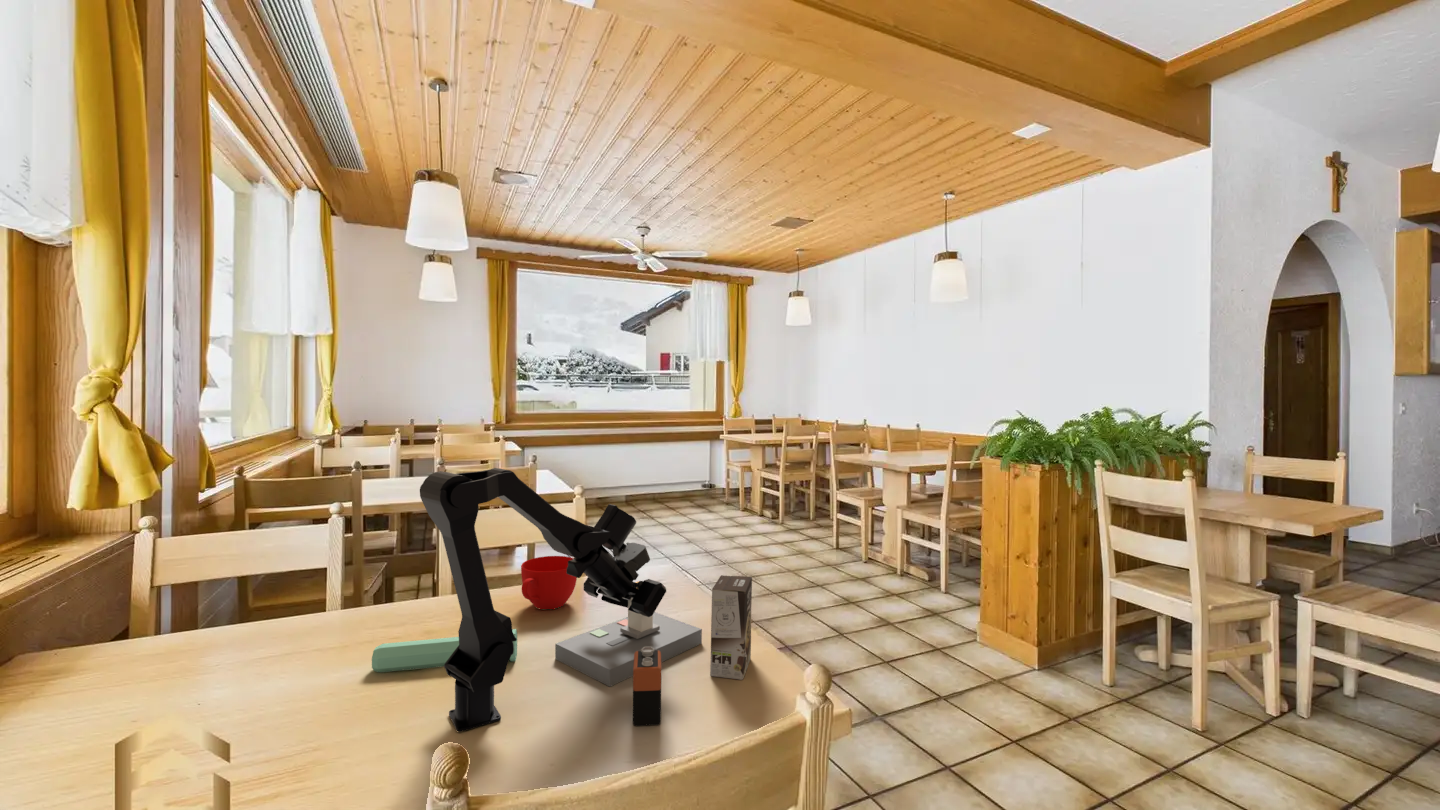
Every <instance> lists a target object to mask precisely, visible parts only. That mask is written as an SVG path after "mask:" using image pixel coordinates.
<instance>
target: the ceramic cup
mask: <svg viewBox="0 0 1440 810" xmlns="http://www.w3.org/2000/svg"><path fill="white" fill-rule="evenodd" d="M573 558H574V557H572V556H565V555H548V556H547V555H546V556H539V557H533V558H530V559H528V560H526V561H524V562H522V563H521V565H520V572H521V573H520V574H521V583H522V585H521V595H522V596H523V597H524V598H525V600H526V599H527V600H529V602H530V603H531V604H532V605H533V606H534V607H535V608H536V607H537V608H540V609H553V610H555V609H554V608H558V607H560V608H562V607H563V606H564V605H565V603H567V601H569V599H570V598H571V596H572V595H573V593H574V592H575V591H574V590H575V588H576V585H577V580H578V578H577V577H574V576H571V575H569V574H567V573H566V572H567V567H568V561H569V560H572V559H573ZM561 606H562V607H561ZM537 608H536V609H537ZM540 609H539V610H540ZM558 609H559V608H558Z"/></svg>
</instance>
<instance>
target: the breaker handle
mask: <svg viewBox="0 0 1440 810" xmlns="http://www.w3.org/2000/svg"><path fill="white" fill-rule="evenodd" d="M639 581H640V580H638V581H634V582H635V583H638V582H639ZM637 589H638V588H637ZM629 595H630V594H629ZM631 601H632V598H631V600H628V608H627V617H628V625H627V626H624V627H622V628H620V632H622V633H624V634H626V635H629V636H631V637H634V638H636V639H639V638H641V637H644V636H646V635H648V634H651V633H653V632H656V631H658V630H660V626H659V625H656V624H653V615H652V616H650V617H647V616H644V615H641V614H638V613H635V612H632V611H630V610H628V609H629V608H630V606H631Z"/></svg>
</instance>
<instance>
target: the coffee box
mask: <svg viewBox="0 0 1440 810" xmlns="http://www.w3.org/2000/svg"><path fill="white" fill-rule="evenodd" d="M752 584H753V577H752V576H745V575H744V576H743V575H724V574H723V575H720V576H719V577H718V579H717V581H716V583H715V584H714V586H713V587H712V588H711V614H710V615H711V618H710V619H711V620H710V621H711V623H710V627H711V628H710V665H709V666H710V668H709V669H710V670H709V671H710V672H709V673H710V674H709V675H710V676H711V677H717V678H725V679H733V680H740V681H741V680H744V678H745V675H746V672H747V670H748V667H749V664H750V661H751V659H752V656H751V655H752V653H751V651H752V601H753V600H752V598H753V596H752V595H753V594H752V593H753V592H752V591H753V589H752V588H753V585H752Z"/></svg>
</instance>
